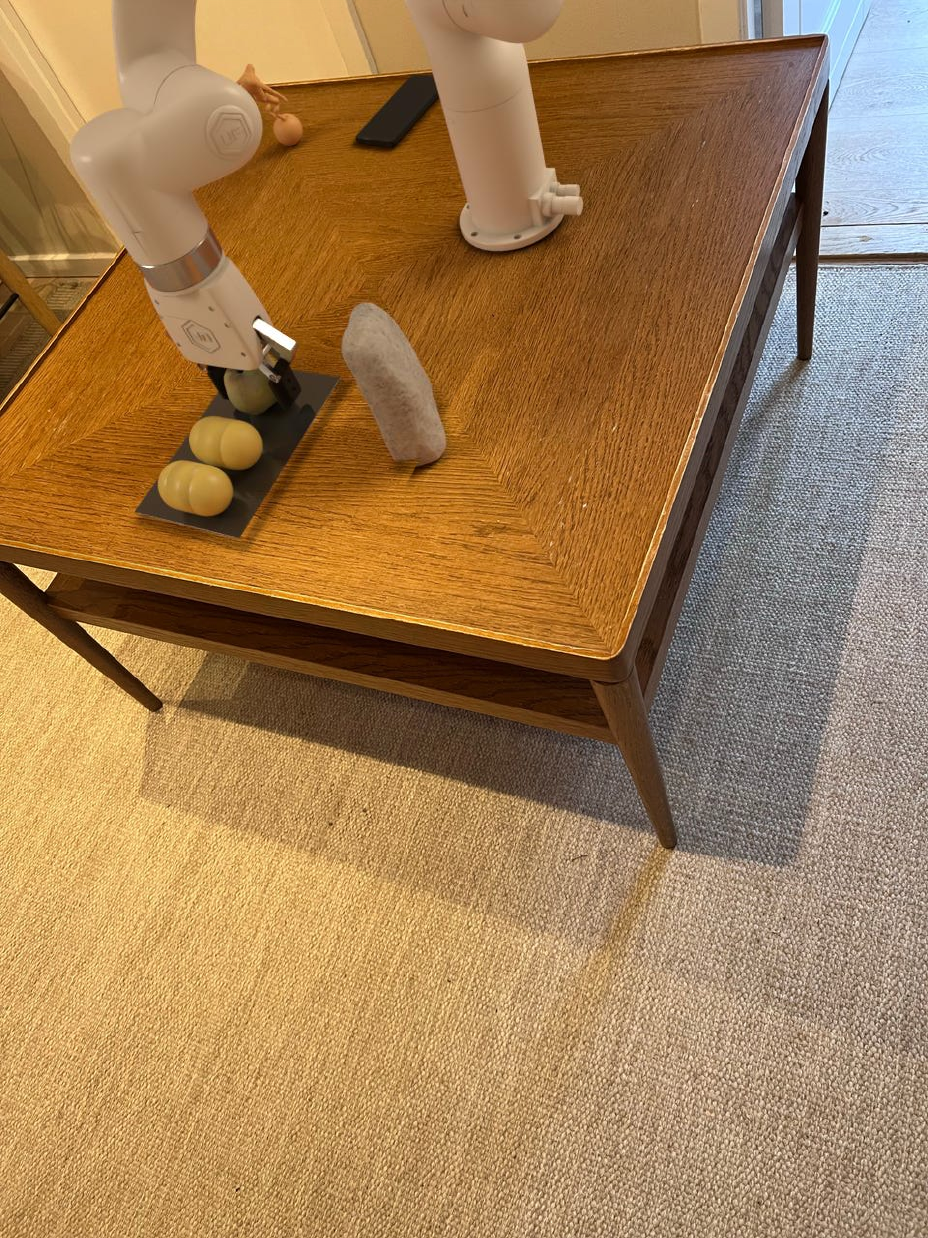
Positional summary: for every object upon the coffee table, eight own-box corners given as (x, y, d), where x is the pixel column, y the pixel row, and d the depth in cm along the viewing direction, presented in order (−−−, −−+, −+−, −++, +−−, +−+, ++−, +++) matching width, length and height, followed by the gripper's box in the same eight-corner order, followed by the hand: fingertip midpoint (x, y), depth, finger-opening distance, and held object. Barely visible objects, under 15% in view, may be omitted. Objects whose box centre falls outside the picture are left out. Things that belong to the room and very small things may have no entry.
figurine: (323, 138, 127) (288, 49, 117) (297, 164, 125) (259, 77, 115) (281, 130, 131) (244, 44, 121) (255, 156, 129) (216, 70, 119)
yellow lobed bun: (279, 447, 94) (258, 413, 90) (255, 484, 92) (232, 451, 88) (219, 435, 97) (196, 402, 93) (195, 471, 95) (171, 438, 91)
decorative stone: (387, 398, 96) (336, 282, 84) (441, 384, 95) (398, 265, 83) (391, 475, 90) (337, 363, 78) (449, 461, 89) (404, 345, 77)
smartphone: (352, 137, 123) (411, 73, 128) (354, 143, 124) (413, 79, 129) (392, 142, 120) (451, 76, 125) (394, 148, 121) (452, 82, 126)
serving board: (345, 386, 99) (341, 376, 97) (245, 547, 90) (238, 538, 89) (245, 371, 104) (239, 361, 103) (141, 520, 96) (133, 512, 94)
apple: (311, 379, 98) (289, 337, 93) (266, 431, 96) (242, 391, 91) (271, 366, 101) (248, 325, 96) (227, 417, 98) (201, 377, 94)
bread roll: (250, 491, 92) (227, 459, 87) (225, 530, 90) (201, 499, 85) (190, 478, 95) (165, 446, 91) (164, 515, 93) (138, 484, 89)
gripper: (89, 276, 85) (183, 409, 99) (233, 292, 78) (312, 433, 92) (132, 224, 88) (218, 360, 102) (275, 235, 81) (345, 380, 95)
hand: (262, 394), depth 97 cm, fingers open, 7 cm apart
